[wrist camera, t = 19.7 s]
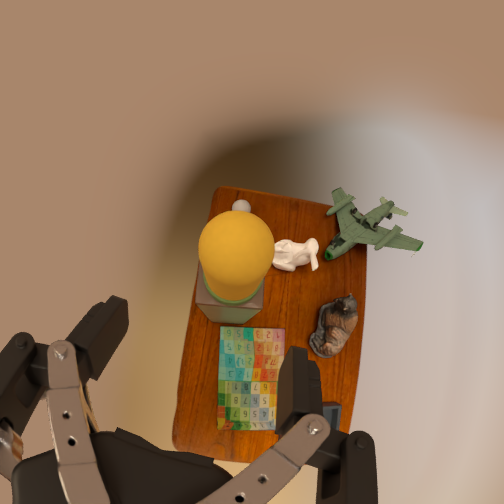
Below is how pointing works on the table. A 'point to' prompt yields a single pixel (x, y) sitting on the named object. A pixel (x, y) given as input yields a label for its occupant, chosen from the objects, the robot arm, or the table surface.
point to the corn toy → (235, 256)
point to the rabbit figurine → (295, 254)
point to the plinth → (225, 312)
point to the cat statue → (334, 326)
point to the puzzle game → (249, 377)
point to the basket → (330, 414)
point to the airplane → (365, 227)
